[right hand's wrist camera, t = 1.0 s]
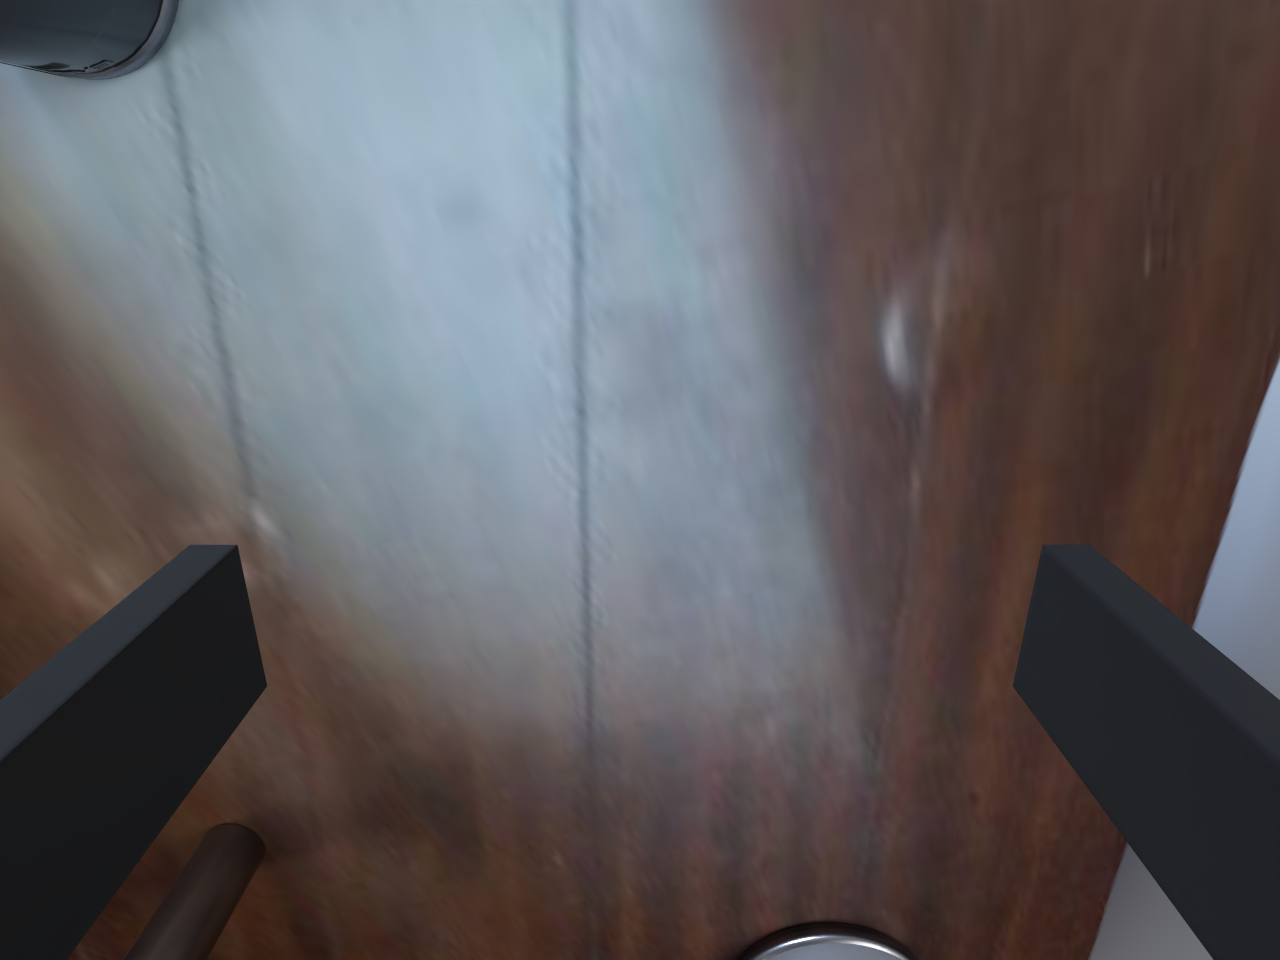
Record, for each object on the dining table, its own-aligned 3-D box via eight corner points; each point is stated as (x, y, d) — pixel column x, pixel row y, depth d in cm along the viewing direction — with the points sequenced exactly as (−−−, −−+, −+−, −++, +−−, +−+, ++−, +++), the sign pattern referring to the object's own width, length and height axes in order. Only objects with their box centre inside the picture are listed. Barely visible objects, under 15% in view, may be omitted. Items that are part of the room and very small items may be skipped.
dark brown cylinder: (273, 865, 52) (138, 1117, 38) (216, 871, 52) (61, 1124, 38) (253, 820, 51) (106, 1065, 37) (195, 826, 51) (26, 1073, 37)
